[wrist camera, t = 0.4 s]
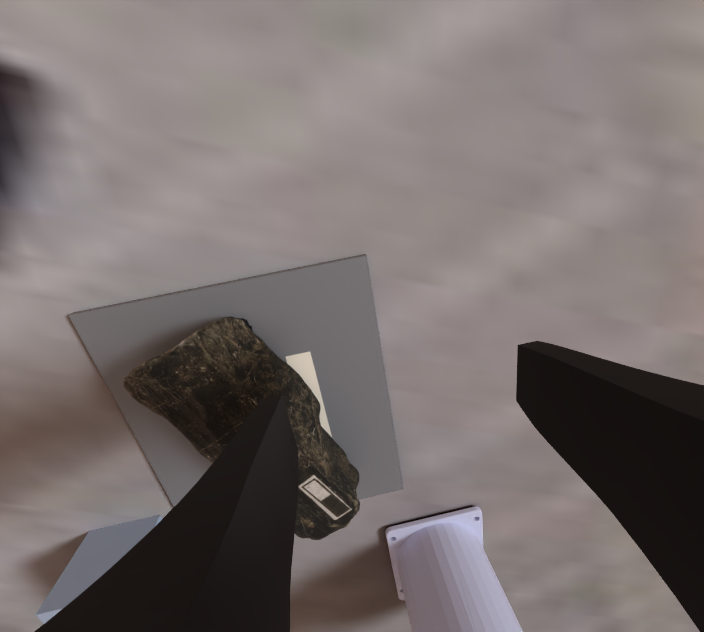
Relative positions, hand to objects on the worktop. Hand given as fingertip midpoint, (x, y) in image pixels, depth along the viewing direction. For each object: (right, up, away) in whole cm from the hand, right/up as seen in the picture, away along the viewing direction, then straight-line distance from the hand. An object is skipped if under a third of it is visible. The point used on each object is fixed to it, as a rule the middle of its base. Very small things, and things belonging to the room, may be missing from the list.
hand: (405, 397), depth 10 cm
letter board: (-7, -4, +12) cm, 14 cm away
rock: (-7, -4, +11) cm, 14 cm away
